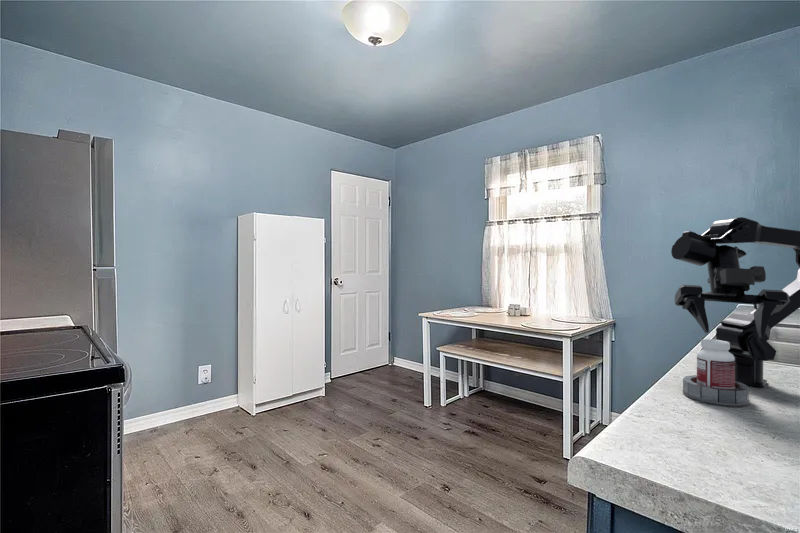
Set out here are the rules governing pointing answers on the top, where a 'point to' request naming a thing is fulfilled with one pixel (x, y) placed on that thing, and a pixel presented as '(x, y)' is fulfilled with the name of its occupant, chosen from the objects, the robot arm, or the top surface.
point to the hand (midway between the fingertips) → (733, 334)
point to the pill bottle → (715, 364)
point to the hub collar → (716, 393)
